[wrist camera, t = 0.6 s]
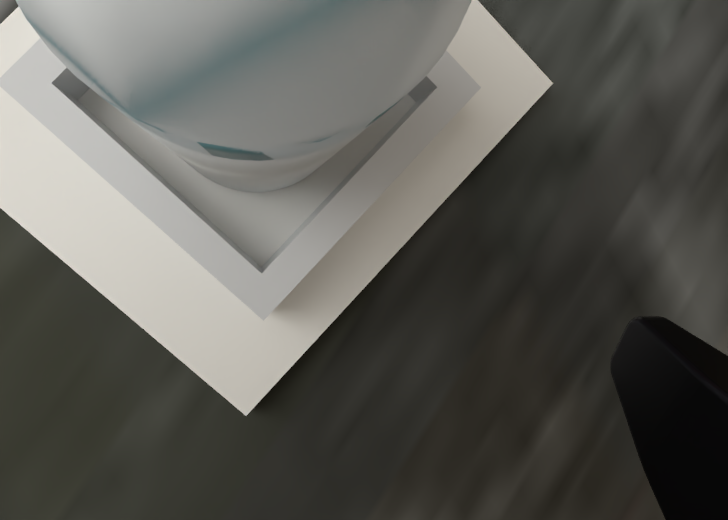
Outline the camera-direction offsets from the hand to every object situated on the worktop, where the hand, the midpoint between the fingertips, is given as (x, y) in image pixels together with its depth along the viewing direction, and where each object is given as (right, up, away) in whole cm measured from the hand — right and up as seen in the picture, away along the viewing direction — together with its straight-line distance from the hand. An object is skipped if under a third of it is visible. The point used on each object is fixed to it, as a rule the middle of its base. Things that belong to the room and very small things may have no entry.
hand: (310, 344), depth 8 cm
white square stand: (-3, +6, +13) cm, 15 cm away
